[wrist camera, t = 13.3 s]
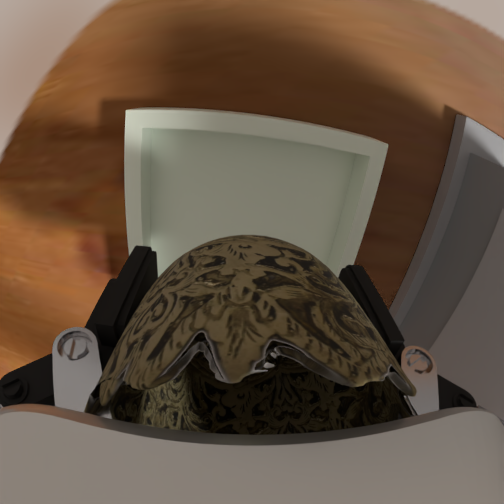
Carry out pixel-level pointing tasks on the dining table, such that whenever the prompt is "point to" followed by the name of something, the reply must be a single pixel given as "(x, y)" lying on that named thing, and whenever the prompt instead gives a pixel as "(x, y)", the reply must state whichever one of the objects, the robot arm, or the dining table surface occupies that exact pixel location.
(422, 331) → the grey sign holder
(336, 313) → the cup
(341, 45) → the dining table surface
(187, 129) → the parts tray
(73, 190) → the dining table surface
